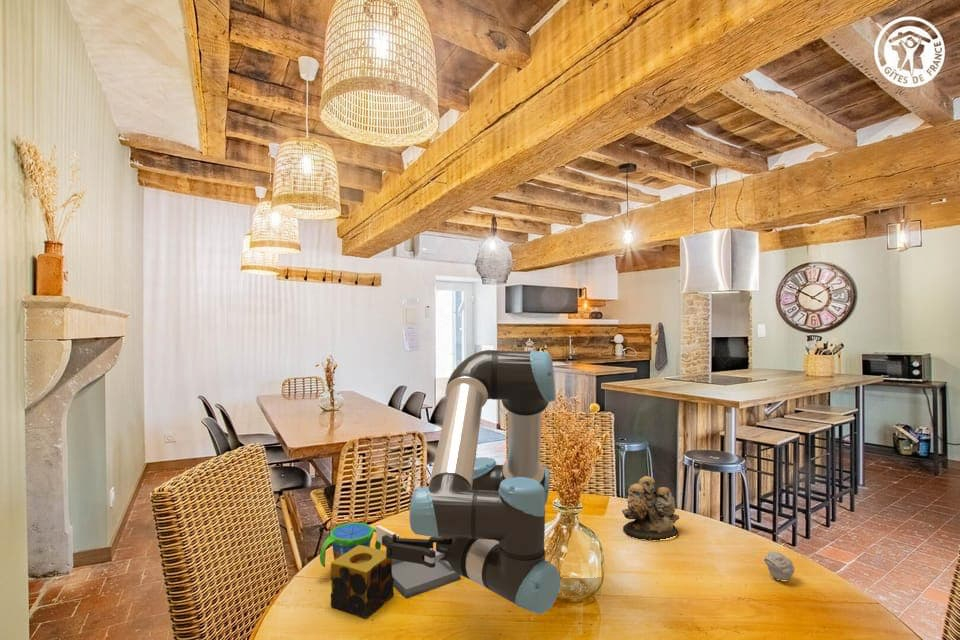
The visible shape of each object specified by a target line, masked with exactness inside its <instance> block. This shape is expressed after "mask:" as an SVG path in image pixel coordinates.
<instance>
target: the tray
mask: <svg viewBox="0 0 960 640" xmlns="http://www.w3.org/2000/svg"><path fill="white" fill-rule="evenodd" d="M433 551H435V552H436V550H435V549H433ZM392 575H393V580H394V581H393V588H395V589H396V590H397V591H398V592H399V593H400V594H401V595H402V597H404V598H405V599H407V598H410V597H413V596H416V595H420V594H422V593H424V592H427V591H431V590H433V589H435V588H439V587H441V586H445V585H447V584H450V583H452V582H456V581H458V580H461V579H462V578H461V576H462V575H460V574H458V573H456V572H455V571H454V570H453V569H452V567H451V566H450V564H449V563H448V562H447V561H443V560H440V559H439V560H438V561H436V562H435V567H433V568H430V567H427V566H425V565H423V564H417V563H412V562H406V561H400V560H395V559H393V564H392Z"/></svg>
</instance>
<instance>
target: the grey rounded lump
mask: <svg viewBox="0 0 960 640" xmlns="http://www.w3.org/2000/svg"><path fill="white" fill-rule="evenodd" d="M763 560H764V563H765V564H766V565H767V570H768V572H769V573H770V575H771V577H772V576H773V577H774V578H773V577H772V578H773V579H775V578H776V579H779V580H788V581H790V580H791V578H792V576H793V575H794V573H795V566H794V563H793V562H792V560H791V559H789V557H787V556H785V555H784V554H782V553H781V552H779V551H771V550H770V551H768V554H767V555H766V556H765V557H764V559H763ZM776 579H775V580H776Z"/></svg>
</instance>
